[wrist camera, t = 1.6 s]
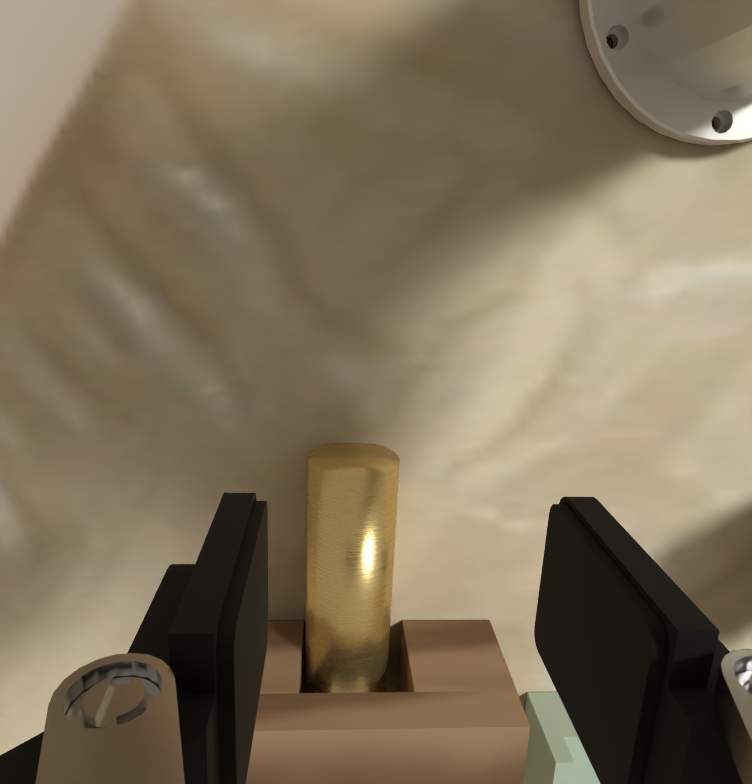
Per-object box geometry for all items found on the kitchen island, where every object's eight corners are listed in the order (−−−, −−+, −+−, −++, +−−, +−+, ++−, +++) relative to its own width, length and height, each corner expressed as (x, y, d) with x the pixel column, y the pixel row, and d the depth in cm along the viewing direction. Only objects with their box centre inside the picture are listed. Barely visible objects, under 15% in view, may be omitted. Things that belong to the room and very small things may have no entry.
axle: (318, 438, 29) (298, 471, 26) (403, 446, 29) (395, 479, 25) (313, 717, 34) (295, 780, 30) (386, 726, 33) (377, 792, 30)
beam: (213, 620, 31) (179, 732, 24) (489, 620, 32) (530, 726, 25) (215, 703, 32) (184, 831, 26) (480, 700, 33) (517, 822, 27)
